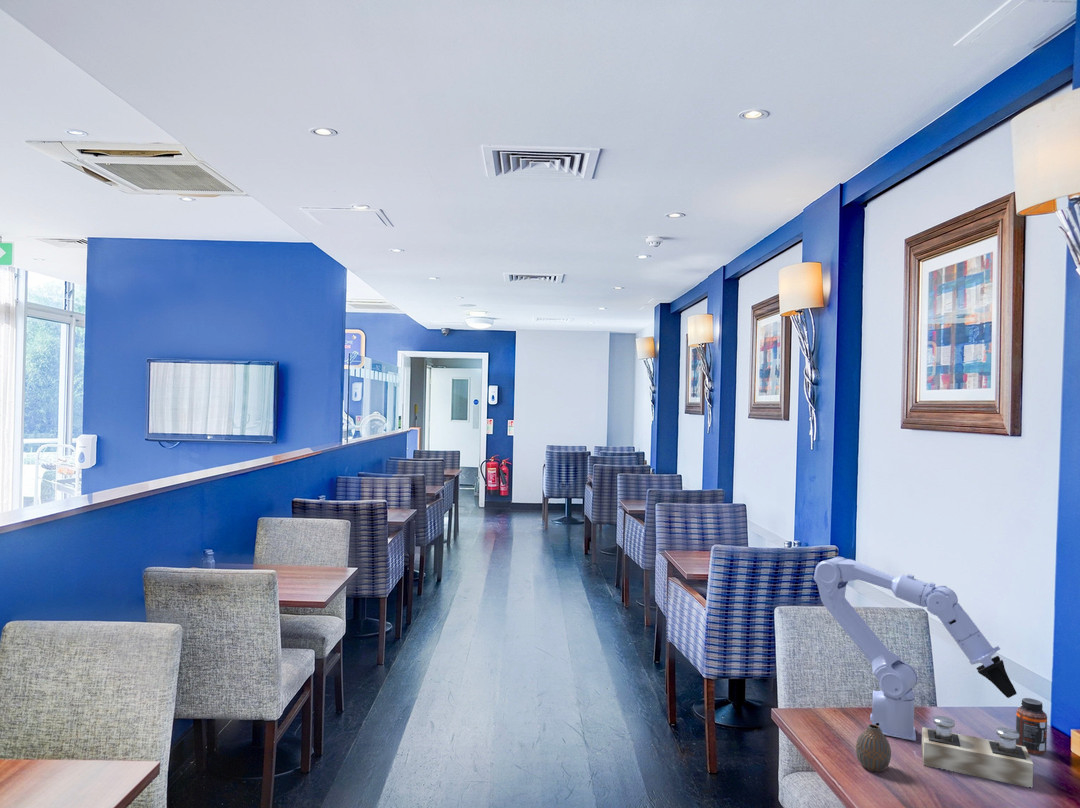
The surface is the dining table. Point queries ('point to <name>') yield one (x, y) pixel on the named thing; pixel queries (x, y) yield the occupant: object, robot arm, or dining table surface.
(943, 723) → the dowel left
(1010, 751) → the dowel right
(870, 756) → the vase
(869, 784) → the dining table surface
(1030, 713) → the supplement bottle
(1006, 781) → the birch bar
